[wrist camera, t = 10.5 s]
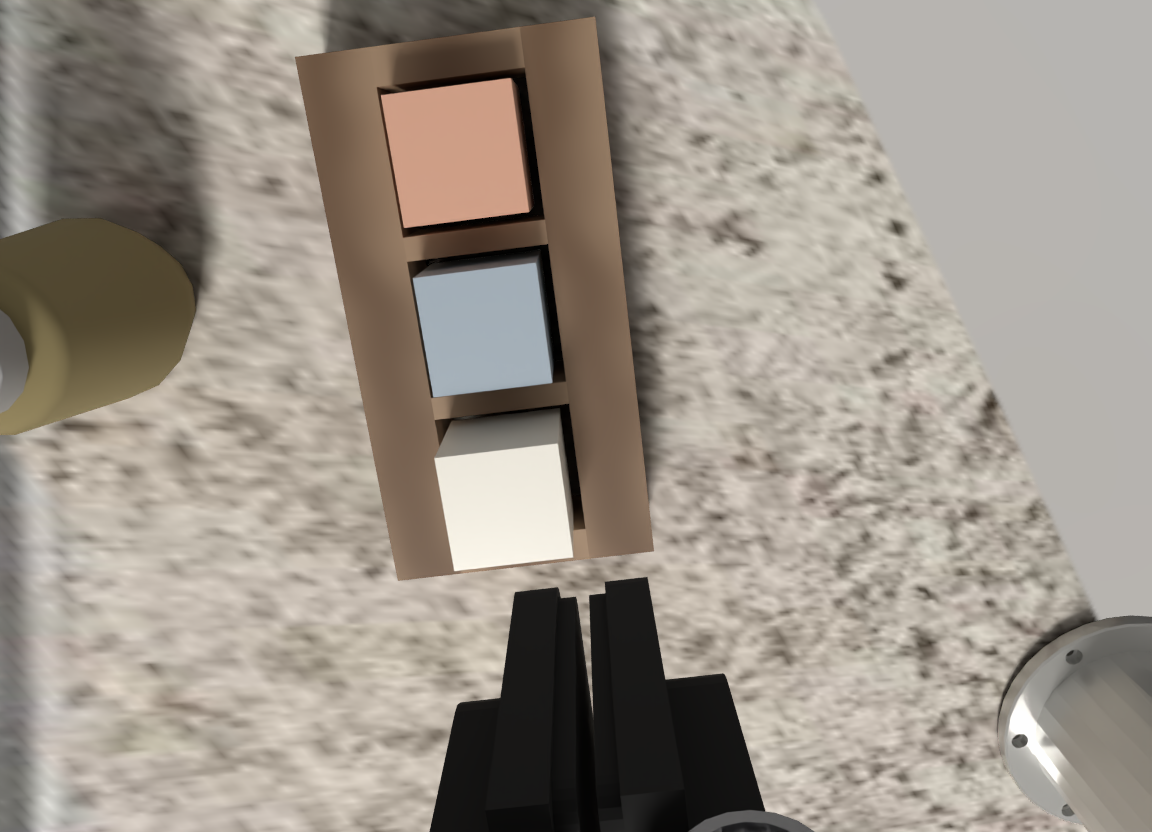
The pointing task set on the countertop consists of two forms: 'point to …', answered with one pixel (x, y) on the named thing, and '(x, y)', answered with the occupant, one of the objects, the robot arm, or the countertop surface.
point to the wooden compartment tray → (396, 254)
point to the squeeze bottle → (85, 319)
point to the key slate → (486, 323)
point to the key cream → (506, 490)
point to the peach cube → (459, 152)
